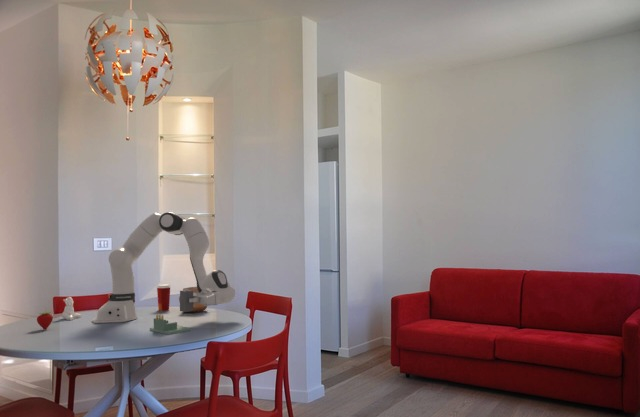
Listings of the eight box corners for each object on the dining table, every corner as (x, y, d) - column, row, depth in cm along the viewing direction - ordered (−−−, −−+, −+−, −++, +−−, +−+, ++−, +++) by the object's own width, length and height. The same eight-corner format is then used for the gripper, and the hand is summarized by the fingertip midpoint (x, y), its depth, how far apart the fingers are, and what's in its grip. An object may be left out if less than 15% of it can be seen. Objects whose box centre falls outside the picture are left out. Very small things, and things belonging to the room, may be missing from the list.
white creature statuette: (71, 320, 286) (71, 298, 286) (57, 320, 288) (57, 298, 288) (82, 317, 295) (82, 295, 296) (68, 317, 297) (68, 295, 297)
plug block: (187, 309, 266) (187, 288, 266) (193, 310, 263) (193, 289, 263) (179, 311, 262) (180, 289, 263) (185, 312, 259) (185, 290, 260)
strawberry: (34, 330, 260) (34, 309, 260) (48, 327, 266) (49, 307, 267) (40, 331, 257) (40, 310, 257) (55, 328, 263) (55, 308, 263)
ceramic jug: (201, 308, 321) (201, 285, 321) (213, 311, 310) (212, 286, 310) (173, 312, 309) (173, 288, 309) (185, 315, 298) (184, 290, 298)
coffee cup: (173, 309, 321) (172, 284, 321) (167, 311, 313) (167, 285, 313) (159, 309, 322) (159, 284, 322) (154, 311, 314) (154, 285, 314)
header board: (171, 326, 265) (171, 310, 265) (190, 330, 254) (190, 313, 254) (149, 330, 255) (149, 313, 256) (168, 334, 245) (168, 316, 245)
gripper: (195, 289, 279) (173, 291, 269) (220, 292, 266) (197, 295, 256) (195, 301, 279) (173, 304, 269) (220, 305, 266) (197, 308, 255)
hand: (185, 299), depth 262 cm, fingers closed on plug block, 5 cm apart
